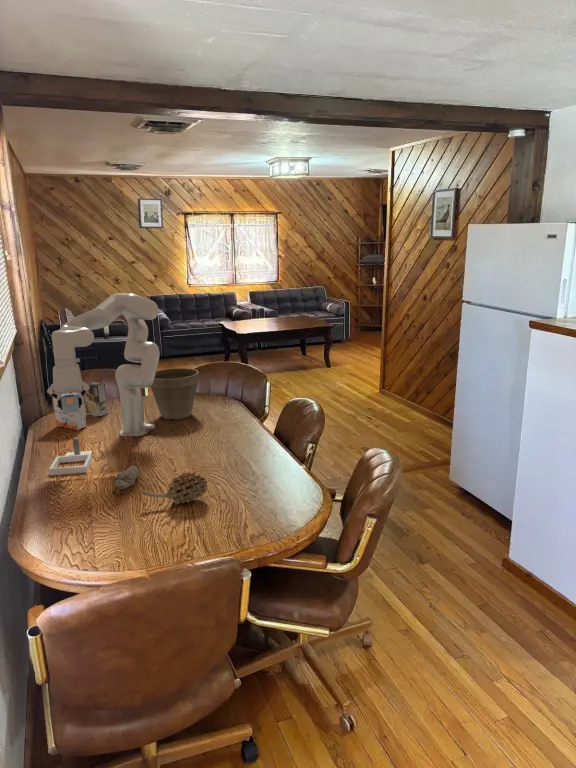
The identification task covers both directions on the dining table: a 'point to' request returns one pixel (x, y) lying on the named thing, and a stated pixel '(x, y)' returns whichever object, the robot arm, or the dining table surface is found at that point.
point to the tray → (69, 470)
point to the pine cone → (183, 488)
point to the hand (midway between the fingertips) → (70, 407)
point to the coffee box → (96, 399)
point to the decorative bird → (126, 478)
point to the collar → (70, 403)
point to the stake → (77, 448)
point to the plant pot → (175, 391)
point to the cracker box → (69, 415)
